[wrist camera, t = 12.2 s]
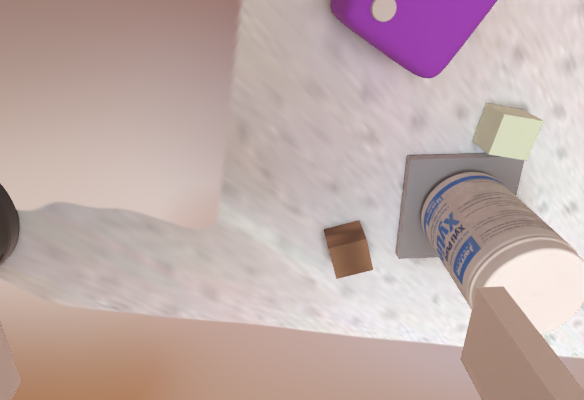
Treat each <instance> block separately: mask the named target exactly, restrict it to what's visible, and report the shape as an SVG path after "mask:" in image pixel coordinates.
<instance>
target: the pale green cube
mask: <svg viewBox="0 0 584 400" xmlns="http://www.w3.org/2000/svg"><path fill="white" fill-rule="evenodd" d="M543 122H544V121H543V120H541V119H539V118H537V117H535V116H533V115H532V114H530V113H528V112H526V111H524V110H522V109H516V108H511V107H505V106H500V105H494V104H488V103H486V104H485V107H484V110H483V112H482V115H481V118H480V120H479V123H478V126H477V128H476V131H475V134H474V136H473V139H472V141H473V142H474V143H475V144H477V145H478V146H479V147H480V148H481V149H483V150H484V151H485V152H486V153H487V154H489V155H495V156H501V157H507V158H514V159H520V160H526V161H527V159H528V156H529V154H530V152H531V149H532V147H533V145H534V143H535V140H536V138H537V136H538V133H539V131H540V129H541V126H542V124H543Z"/></svg>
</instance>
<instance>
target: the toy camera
mask: <svg viewBox="0 0 584 400" xmlns="http://www.w3.org/2000/svg"><path fill="white" fill-rule="evenodd" d="M496 1H497V0H332V1H331V9H332V12H333V13H334V15H335V16H336V17H337V18H338V19H339V20H340V21H341V22H342V23H343V24H344V25H345V26H347V27H348V28H349V29H351V30H352V31H353V32H355V33H356V34H358V35H359V36H360V37H362V38H363V39H364V40H366V41H367V42H369V43H370V44H371V45H373V46H374V47H376V48H377V49H378V50H380V51H381V52H382V53H384V54H385V55H387V56H388V57H389V58H391V59H392V60H394V61H395V62H396V63H398V64H399V65H401V66H402V67H404V68H405V69H407V70H408V71H410V72H412V73H413V74H415V75H417V76H420V77H423V78H433V77H435V76H436V75H438V74H439V73H440V72H441V71H442V70H443V69H444V68H445V67H446V66H447V65H448V63H449V62H450V61H451V60H452V58H453V57H454V56H455V55H456V53H457V52H458V51H459V49H460V48H461V47H462V46H463V44H464V43H465V42H466V40H467V39H468V38H469V37H470V35H471V34H472V33H473V31H474V30H475V29H476V27H477V26H478V25H479V24H480V22H481V21H482V20H483V18H484V17H485V16H486V14H487V13H488V12H489V11H490V9H491V8H492V7H493V5H494V4H495V3H496Z"/></svg>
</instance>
